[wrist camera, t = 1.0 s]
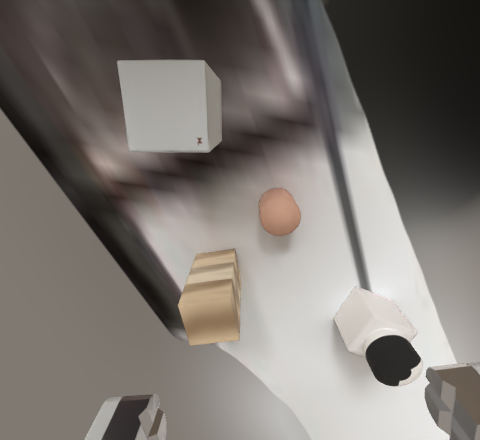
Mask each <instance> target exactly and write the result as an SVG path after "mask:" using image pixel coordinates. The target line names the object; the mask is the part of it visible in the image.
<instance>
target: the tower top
mask: <svg viewBox="0 0 480 440" xmlns="http://www.w3.org/2000/svg"><path fill="white" fill-rule="evenodd" d="M178 307H179V310H180V313H181V317H182V320H183V323H184V327H185V330H186V333H187V337H188V340H189V343H190V345H198V344H208V343H217V342H226V341H235V340H239V333H240V314H239V309H238V304H237V300H236V295H235V290H234V285H233V280H232V279H224V280H216V281H208V282H201V283H193V284H186V285H185V287H184V290H183V293H182V295H181V298H180V301H179V304H178Z"/></svg>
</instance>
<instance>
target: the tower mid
mask: <svg viewBox="0 0 480 440" xmlns="http://www.w3.org/2000/svg"><path fill="white" fill-rule="evenodd" d="M224 279H232V280H233V285H234V290H235V295H236V300H237V304H238V309H239V314H240V299H241V297H240V292H239V287H238V282H237V277H236V272H235V267H234V262H230V263H223V264H215V265H208V266H200V267H192V268H191V270H190V273H189V276H188V279H187V281H186V284H193V283H201V282H208V281H216V280H224Z"/></svg>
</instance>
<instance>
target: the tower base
mask: <svg viewBox="0 0 480 440" xmlns="http://www.w3.org/2000/svg"><path fill="white" fill-rule="evenodd" d="M230 262H234V267H235V272H236V277H237V282H238V287H239V292H240V297H241V279H240V274H239V268H238V263H237V257H236V252H235V249H231V250H223V251H216V252H208V253H201V254H196V257H195V260H194V262H193V265H192V267H200V266H208V265H215V264H223V263H230Z"/></svg>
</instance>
